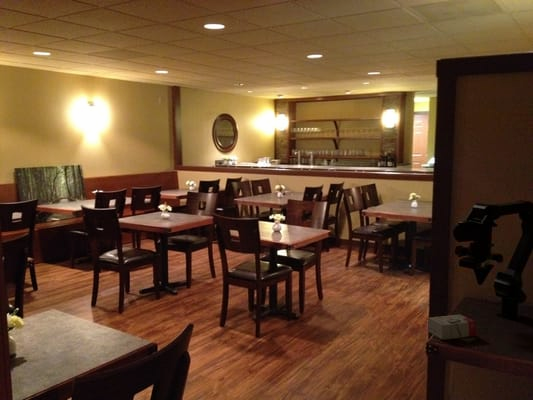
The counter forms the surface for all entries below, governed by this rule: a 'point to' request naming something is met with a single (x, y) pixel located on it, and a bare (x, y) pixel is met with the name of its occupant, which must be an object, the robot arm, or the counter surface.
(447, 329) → the ink box
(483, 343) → the counter surface
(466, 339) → the mat
